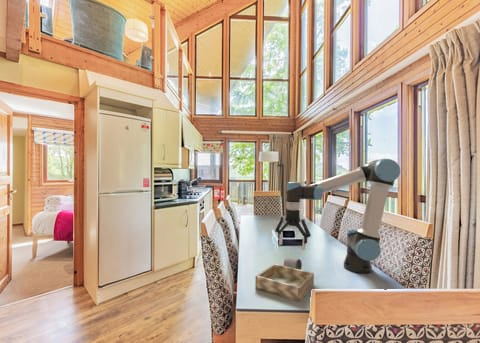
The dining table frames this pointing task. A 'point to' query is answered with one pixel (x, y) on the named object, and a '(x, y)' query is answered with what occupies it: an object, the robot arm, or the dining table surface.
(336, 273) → the dining table surface
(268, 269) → the walled box
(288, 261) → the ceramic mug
